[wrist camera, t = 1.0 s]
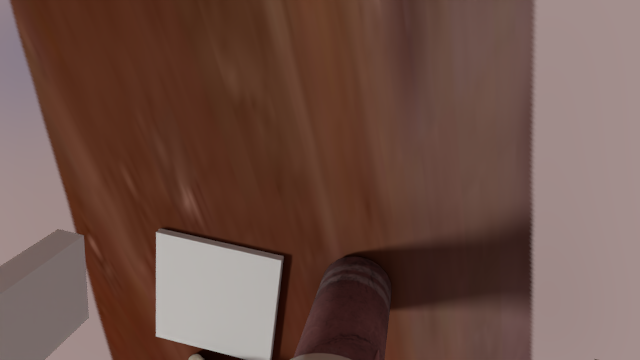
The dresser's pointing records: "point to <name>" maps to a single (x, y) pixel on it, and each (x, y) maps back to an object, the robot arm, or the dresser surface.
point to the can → (349, 312)
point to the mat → (216, 295)
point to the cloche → (320, 357)
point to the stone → (196, 357)
